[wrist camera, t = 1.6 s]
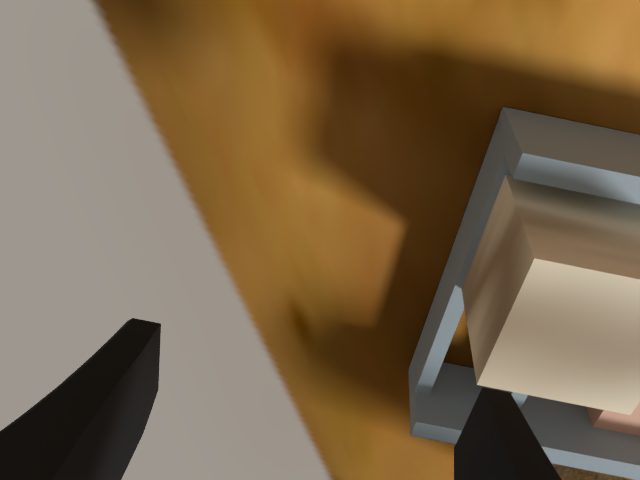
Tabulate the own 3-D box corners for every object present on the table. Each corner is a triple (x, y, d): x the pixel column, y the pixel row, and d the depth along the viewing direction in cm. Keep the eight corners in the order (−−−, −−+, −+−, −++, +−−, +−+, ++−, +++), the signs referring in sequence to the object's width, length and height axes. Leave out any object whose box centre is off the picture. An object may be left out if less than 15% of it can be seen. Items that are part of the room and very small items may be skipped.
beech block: (588, 314, 21) (630, 414, 18) (461, 288, 21) (476, 385, 18) (648, 203, 19) (713, 294, 15) (505, 174, 19) (534, 258, 15)
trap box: (703, 427, 26) (742, 500, 24) (408, 369, 26) (410, 435, 23) (895, 187, 20) (982, 246, 17) (502, 106, 20) (522, 153, 17)
